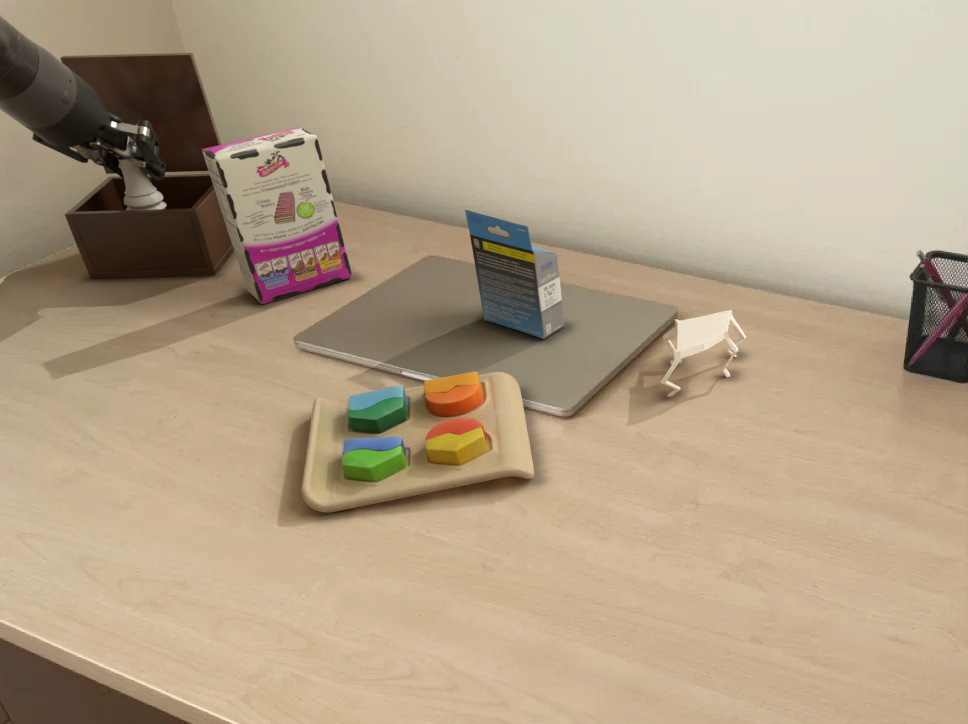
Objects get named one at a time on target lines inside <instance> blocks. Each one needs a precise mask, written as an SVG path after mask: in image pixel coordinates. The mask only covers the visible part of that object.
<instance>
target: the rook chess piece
mask: <svg viewBox="0 0 968 724" xmlns="http://www.w3.org/2000/svg"><path fill="white" fill-rule="evenodd" d="M132 152H133V154H136V147H135V146H133V148H132ZM118 160H119V159H118ZM118 167H119V168H121V170H122V173H123V176H124V181H125V186H126V191H125V197H124V204H125V205H126V206H128V207H127V209H126V210H154V209H165V208H166V203H165V202H163V201H162V200H163V195H162V194H161V193H160V192H159V191H157V190H156V187H154V186H153V184H152V183H151V181H150V179H149V177H148V176H149V175H148V174H147V173H145V172H144V171H143V170H141V169H140V168H139V167H138V166H137V165H135V164H133V163H132V162H130V161H128V160H119V165H118Z"/></svg>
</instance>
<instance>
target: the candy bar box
mask: <svg viewBox="0 0 968 724" xmlns="http://www.w3.org/2000/svg"><path fill="white" fill-rule="evenodd" d="M202 152H203V155H204V159H205V162H206V165H207V167H208V171H207V172H208V174H210V177H211V180H212V183H213V186H214V189H215V192H216V195H217V199H218V202H219V205H220V208H221V211H222V214H223V217H224V221H225V224H226V227H227V230H228V233H229V236H230V239H231V242H232V245H233V249H234V252H233V253H234V255H235V258H236V261H237V264H238V267H239V270H240V273H241V277H242V279H243V283H244V285H245V288H246V291H247V292H248V294H250V295H251V296H252V297H253V298H255V299H256V301H258V302H259V303H260V304H261V305H266V304H269V303H272V302H275V301H278V300H283V299H285V298H288V297H292V296H295V295H299V294H302V293H306V292H309V291H313V290H315V289H318V288H321V287H326V286H328V285H331V284H335V283H338V282H341V281H345V280H348V279H350V278H353V273H352V270H351V264H350V261H349V257H348V254H347V249H346V246H345V242H344V238H343V233H342V230H341V225H340V221H339V218H338V215H337V214H338V213H337V210H336V206H335V203H334V198H333V194H332V191H331V186H330V182H329V178H328V174H327V171H326V166H325V163H324V159H323V154H322V150H321V146H320V143H319V139H318V135H315V134H314V133H312V132H310V131H308V130H307V129H305V128H304V127H301V126H299V127H295V128H291V129H286V130H282V131H276V132H272V133H267V134H263V135H258V136H254V137H250V138H244V139H240V140H236V141H232V142H228V143H227V142H226V143H223V144H222V145H219V146H214V147H210V148H205V149H202Z"/></svg>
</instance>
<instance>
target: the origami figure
mask: <svg viewBox="0 0 968 724" xmlns="http://www.w3.org/2000/svg"><path fill="white" fill-rule="evenodd" d="M674 323H675V324H674V325H675V326H674V327H672V328H671V329H670V330H669V331H667V332H666V333H665V334H663V335H662V340H663V343H664V344H665V345H666V347H667V348H668V349H669V351H670V353H671V354H672V355H673V359H672V360H670V361H669V364H670V367H669V369H668V370H667V372H666V374H664V376H663V378H662V379H661V381H660V384H662V385H665V386H667V387H669V388H670V389H671V388H672V389H673V390H672V391H671V392H669V393H668V394H667V398H671V397H673V396H674V395H675V394H677V393H678V392H679V391H680V390H681V387H680V386H679V385H677V384H675V383H673V382H671V381H669V380H668V379H669V378H670V376H671V375H672V373H673V372H674V371H675V369H676V367H677V366H678V365H679V364H682V363H683V362H682V361H683V359H684V358H687V357H690V356H693V355H696V354H699V353H702V352H705V351H706V350H708V349H710V348H712V347H713V346H715V345H717V344H718V343H720V342H722V341H723V340H725V341H726V342H727V345H729V347H728V348H727V349H726V353H727V354H729V355H730V356H729V358H728V359H727V361H726V363H725V365H724V366H723V368H722V372H723V374H724V376H725V377H726V378H729V377H730V376H731V374H730V372H729V370H728V369H727V367H728V366H729V365H730V363H731V362H732V360H733V359H734V358H737V357H738V356H737V353H738V352H739V347H738V346H739V344H741V343H742V342H744V340H746V338H747V335H746V334H745V333H744V330H742V328H741V327H740V325H739V323H738V322H737V320H736V319H735V317H734V316H733V309H729V310H723V311H719V312H714V313H711V314H706V315H703V316H702V315H701V316H697V317H692V318H687V319H686V318H685V319H678V318H677V319H676V318H675V319H674ZM729 327H731V328H732V329H733V330H734V332H736V334H737V335H738V337H739V338H738V339H737V340H736V341H734V342H733V341H732V339H731V338H730V334H729ZM675 337H676V338H677V341H676V342H677V345H676V346H677V348H675V346H674V344H673V343H672V341H671V340H672V339H674V338H675Z"/></svg>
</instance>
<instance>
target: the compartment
mask: <svg viewBox="0 0 968 724" xmlns="http://www.w3.org/2000/svg"><path fill="white" fill-rule="evenodd" d="M148 177H149V179H150V181H151V183H152V184H153V186H154V187H156V190H157V191H159V192H160V193H161V194H162V195H163V200H162V201H163V202H165V203H166V208H165V209H154V210H126V209H127V207H128V206H126V205H125V204H124V197H125V191H126V186H125V181H124V179H123V178H122V177H120V176H119V175H118V176H108V177H107V178H105V179H104V180H103V181H101V183H99V184H98V185H97V186H96V187H95V188H94V189H92V190H91V191H90V192H89V193H88V194H86V195H85V196H84V197H83V198H82V199H81V200H80V201H78V202H77V203H75V205H74V206H72V208H70V209H69V210H68V211H67V212H65V213H64V217H65V219H66V221H67V222H66V223H67V224H68V227H69V229H70V231H71V235H72V236H73V238H74V242H75V245H76V246H77V249H78V252H79V254H80V257H81V259H82V262H83V264H84V267H85V269H86V272H87V275H88V276H89V279H90V280H95V279H97V280H98V279H99V280H101V279H125V278H126V279H127V278H128V279H129V278H159V277H161V278H162V277H188V276H192V277H193V276H215V275H217V274H218V273H219V272H220V270H221V269H222V267H223V266H224V265H225V264H226V262H228V259H230V257H231V256H232V254H233V253H235V252H234V249H233V245H232V242H231V239H230V236H229V233H228V230H227V227H226V224H225V221H224V217H223V214H222V211H221V208H220V205H219V202H218V199H217V195H216V192H215V189H214V186H213V183H212V180H211V177H210V174H209V173H193V174H192V173H191V174H188V173H185V174H165V176H164V179H163V180H155V179H153V178H152V177H151V176H149V175H148Z"/></svg>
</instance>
